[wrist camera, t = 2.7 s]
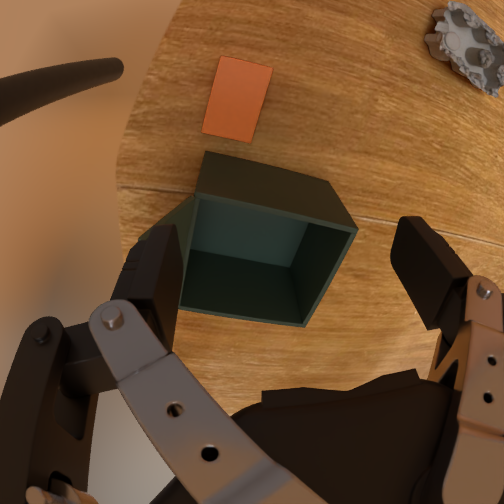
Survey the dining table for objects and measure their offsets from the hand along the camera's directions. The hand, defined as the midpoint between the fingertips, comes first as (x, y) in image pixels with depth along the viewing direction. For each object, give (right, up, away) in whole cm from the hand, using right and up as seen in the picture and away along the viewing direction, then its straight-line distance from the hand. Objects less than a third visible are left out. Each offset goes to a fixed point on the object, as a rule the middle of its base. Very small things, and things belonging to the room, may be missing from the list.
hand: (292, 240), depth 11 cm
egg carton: (+21, +22, +11) cm, 32 cm away
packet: (-3, +14, +15) cm, 21 cm away
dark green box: (-1, +3, +23) cm, 23 cm away
